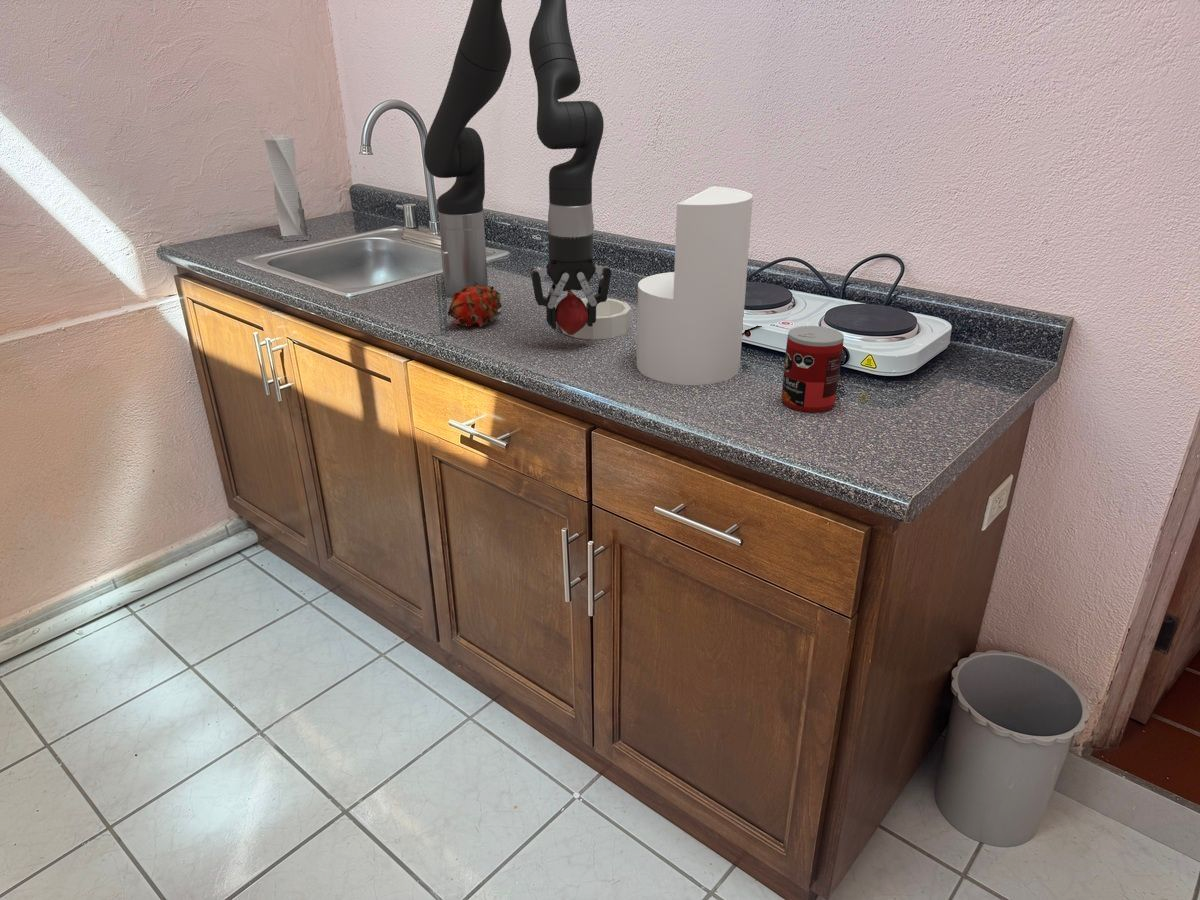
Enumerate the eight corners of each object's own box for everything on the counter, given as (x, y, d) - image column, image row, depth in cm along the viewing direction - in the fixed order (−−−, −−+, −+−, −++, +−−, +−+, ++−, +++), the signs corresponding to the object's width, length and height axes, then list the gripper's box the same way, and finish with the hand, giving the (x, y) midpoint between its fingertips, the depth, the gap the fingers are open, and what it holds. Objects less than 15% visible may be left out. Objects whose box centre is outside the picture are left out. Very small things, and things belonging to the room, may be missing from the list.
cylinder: (751, 356, 146) (765, 189, 133) (722, 392, 131) (734, 208, 119) (657, 343, 152) (662, 182, 139) (620, 375, 138) (622, 199, 125)
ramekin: (567, 341, 153) (567, 320, 151) (555, 320, 164) (555, 300, 162) (637, 336, 155) (637, 315, 153) (620, 315, 167) (620, 296, 165)
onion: (592, 331, 151) (592, 287, 147) (581, 342, 146) (581, 297, 142) (562, 327, 152) (561, 284, 149) (550, 337, 147) (549, 293, 144)
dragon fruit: (508, 326, 166) (456, 348, 160) (484, 295, 168) (432, 315, 162) (516, 299, 159) (462, 320, 153) (491, 266, 161) (437, 286, 155)
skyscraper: (276, 242, 225) (257, 130, 213) (280, 235, 233) (261, 127, 220) (309, 240, 227) (291, 130, 214) (311, 234, 234) (295, 127, 222)
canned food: (775, 394, 131) (781, 326, 126) (825, 392, 131) (834, 324, 126) (789, 414, 124) (796, 343, 119) (842, 412, 124) (851, 341, 119)
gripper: (607, 223, 145) (606, 317, 153) (524, 226, 142) (527, 322, 150) (617, 233, 139) (615, 330, 146) (531, 236, 136) (533, 335, 144)
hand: (571, 326), depth 148 cm, fingers closed on onion, 6 cm apart
